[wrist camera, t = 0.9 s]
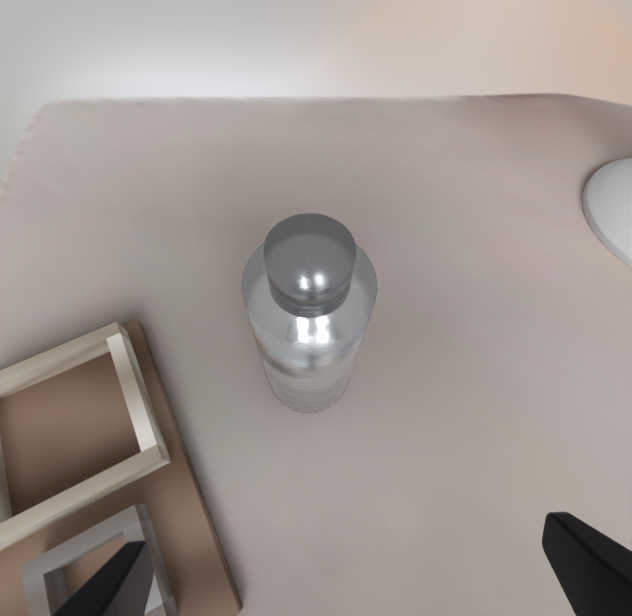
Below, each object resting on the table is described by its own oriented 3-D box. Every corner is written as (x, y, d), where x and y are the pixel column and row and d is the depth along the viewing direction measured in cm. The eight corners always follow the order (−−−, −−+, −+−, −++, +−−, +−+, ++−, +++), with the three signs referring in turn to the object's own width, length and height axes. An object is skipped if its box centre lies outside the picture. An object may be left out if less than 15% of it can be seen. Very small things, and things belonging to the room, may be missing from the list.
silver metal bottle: (332, 425, 22) (360, 342, 11) (255, 395, 23) (203, 287, 11) (358, 351, 24) (404, 215, 13) (287, 325, 25) (270, 175, 14)
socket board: (242, 607, 18) (234, 622, 16) (23, 748, 16) (-23, 788, 14) (141, 324, 25) (125, 307, 23) (-24, 395, 23) (-60, 383, 20)
